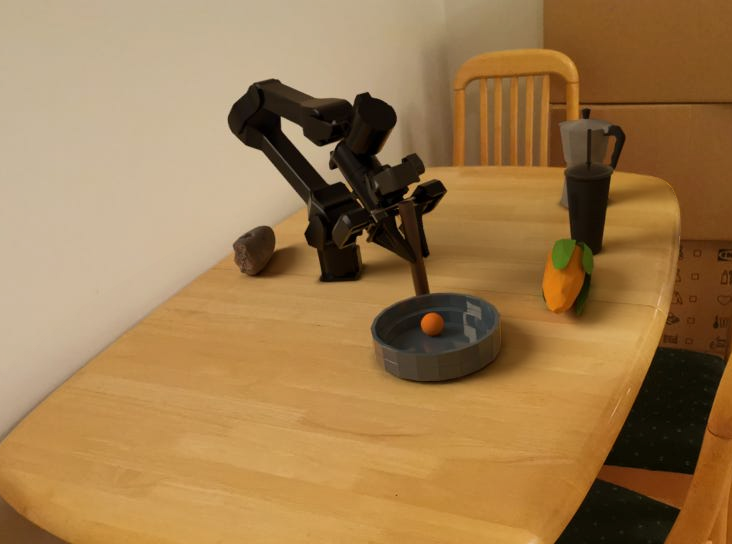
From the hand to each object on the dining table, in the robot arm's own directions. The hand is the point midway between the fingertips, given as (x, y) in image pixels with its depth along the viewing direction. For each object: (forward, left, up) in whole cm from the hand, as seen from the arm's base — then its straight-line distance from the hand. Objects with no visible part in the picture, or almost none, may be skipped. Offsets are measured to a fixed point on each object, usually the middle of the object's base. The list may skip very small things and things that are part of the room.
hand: (421, 259), depth 101 cm
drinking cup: (+25, +20, -8) cm, 33 cm away
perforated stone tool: (-34, +21, -8) cm, 41 cm away
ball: (+2, -9, -6) cm, 11 cm away
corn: (+21, +2, -8) cm, 23 cm away
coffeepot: (+27, +43, -8) cm, 51 cm away
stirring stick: (0, 0, -8) cm, 8 cm away
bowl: (+3, -12, -8) cm, 15 cm away
